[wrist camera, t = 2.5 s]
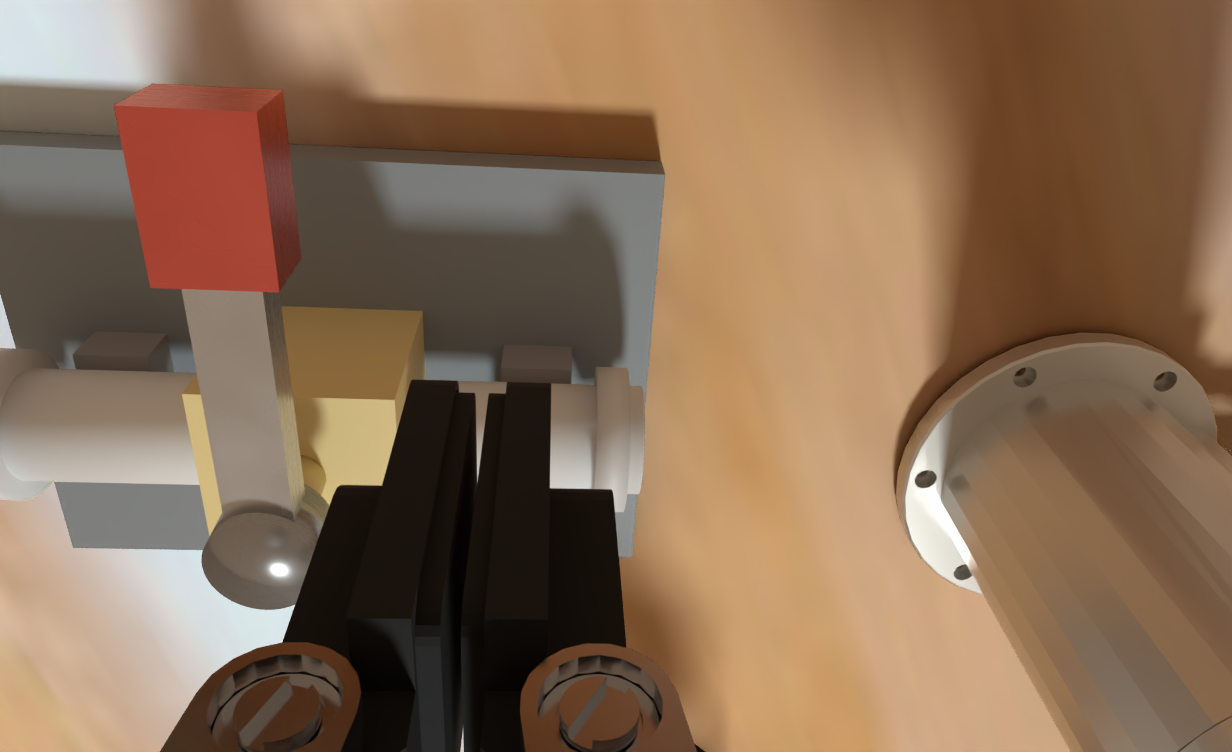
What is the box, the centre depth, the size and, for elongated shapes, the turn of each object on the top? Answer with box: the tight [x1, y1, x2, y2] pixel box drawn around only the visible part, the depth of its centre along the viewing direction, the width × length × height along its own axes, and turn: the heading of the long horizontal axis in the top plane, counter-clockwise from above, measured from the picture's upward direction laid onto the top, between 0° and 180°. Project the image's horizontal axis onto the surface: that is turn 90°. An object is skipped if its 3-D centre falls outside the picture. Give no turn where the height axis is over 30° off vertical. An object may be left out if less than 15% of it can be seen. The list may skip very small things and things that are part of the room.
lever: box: [114, 84, 329, 610], centre depth 23 cm, size 14×3×2 cm, turn 177°
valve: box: [0, 131, 665, 557], centre depth 31 cm, size 22×16×9 cm
